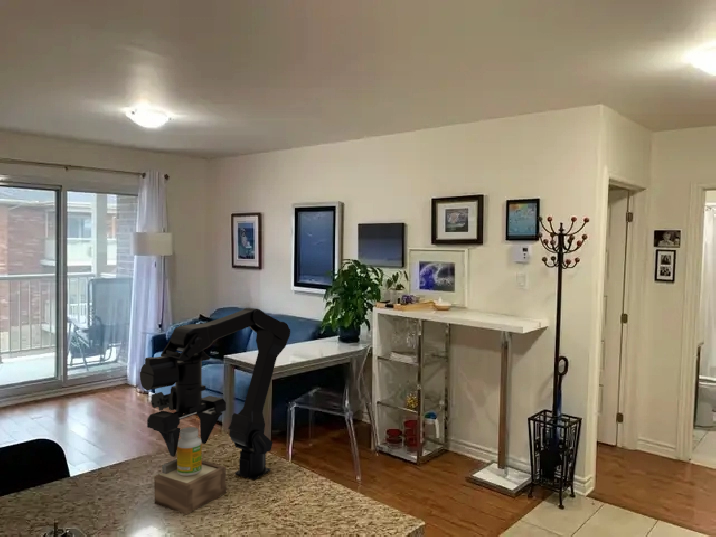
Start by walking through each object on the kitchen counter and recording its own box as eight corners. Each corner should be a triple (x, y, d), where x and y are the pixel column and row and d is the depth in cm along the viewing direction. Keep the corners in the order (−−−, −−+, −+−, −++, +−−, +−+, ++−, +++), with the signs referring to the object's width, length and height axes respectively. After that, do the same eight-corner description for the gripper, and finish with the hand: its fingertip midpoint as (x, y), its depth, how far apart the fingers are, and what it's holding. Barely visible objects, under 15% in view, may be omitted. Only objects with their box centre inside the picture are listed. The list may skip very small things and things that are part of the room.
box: (194, 483, 134) (194, 458, 134) (225, 493, 129) (225, 466, 129) (154, 503, 123) (154, 476, 123) (186, 514, 118) (186, 486, 118)
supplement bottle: (194, 477, 123) (194, 434, 123) (172, 475, 124) (172, 432, 124) (205, 468, 128) (205, 426, 128) (184, 466, 129) (184, 425, 129)
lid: (189, 463, 132) (189, 453, 132) (217, 471, 128) (217, 461, 128) (158, 477, 125) (158, 466, 124) (187, 486, 120) (187, 475, 120)
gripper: (193, 370, 137) (194, 432, 138) (129, 386, 121) (130, 456, 122) (227, 375, 132) (227, 440, 132) (165, 392, 116) (165, 466, 116)
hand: (188, 449), depth 126 cm, fingers open, 9 cm apart
